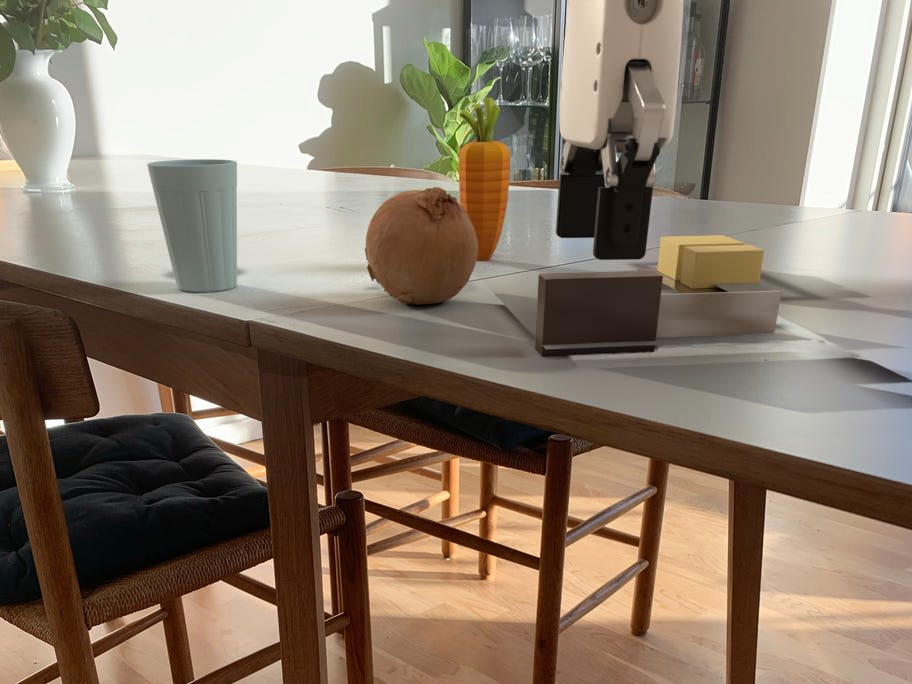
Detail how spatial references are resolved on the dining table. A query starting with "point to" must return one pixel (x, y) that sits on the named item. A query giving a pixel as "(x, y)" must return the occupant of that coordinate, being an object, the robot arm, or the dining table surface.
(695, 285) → the butter slice
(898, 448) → the dining table surface
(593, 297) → the knife
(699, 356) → the dining table surface
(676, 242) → the butter block
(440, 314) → the dining table surface
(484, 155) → the carrot
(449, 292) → the onion
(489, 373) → the dining table surface
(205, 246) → the cup
